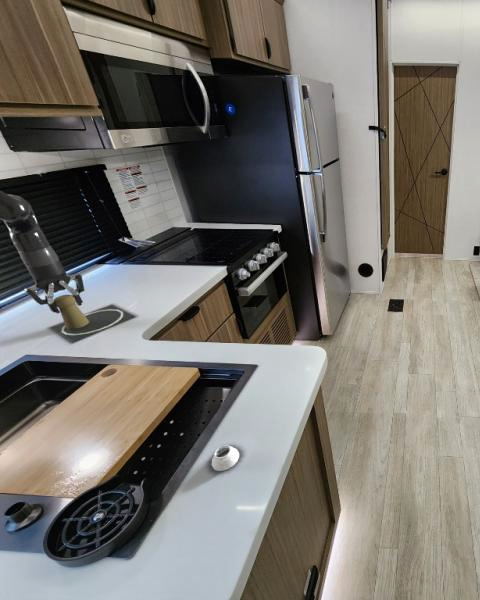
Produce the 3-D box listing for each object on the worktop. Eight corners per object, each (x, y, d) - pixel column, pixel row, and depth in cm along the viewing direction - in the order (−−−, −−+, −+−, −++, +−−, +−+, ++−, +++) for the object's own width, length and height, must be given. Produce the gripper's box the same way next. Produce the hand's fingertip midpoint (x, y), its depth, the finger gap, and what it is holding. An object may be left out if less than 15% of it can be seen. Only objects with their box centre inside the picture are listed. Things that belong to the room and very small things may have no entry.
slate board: (73, 343, 105) (72, 341, 105) (51, 328, 113) (49, 326, 113) (135, 317, 119) (135, 316, 118) (112, 306, 127) (111, 304, 126)
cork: (91, 323, 115) (76, 295, 109) (69, 331, 110) (52, 302, 105) (85, 318, 118) (70, 290, 112) (63, 326, 113) (47, 297, 108)
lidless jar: (217, 477, 65) (243, 460, 68) (213, 467, 64) (239, 451, 67) (209, 460, 68) (234, 446, 71) (205, 451, 67) (230, 436, 70)
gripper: (66, 252, 110) (89, 297, 118) (5, 267, 99) (36, 315, 107) (76, 256, 107) (99, 302, 115) (14, 272, 96) (45, 321, 104)
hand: (68, 308), depth 111 cm, fingers closed on cork, 5 cm apart
